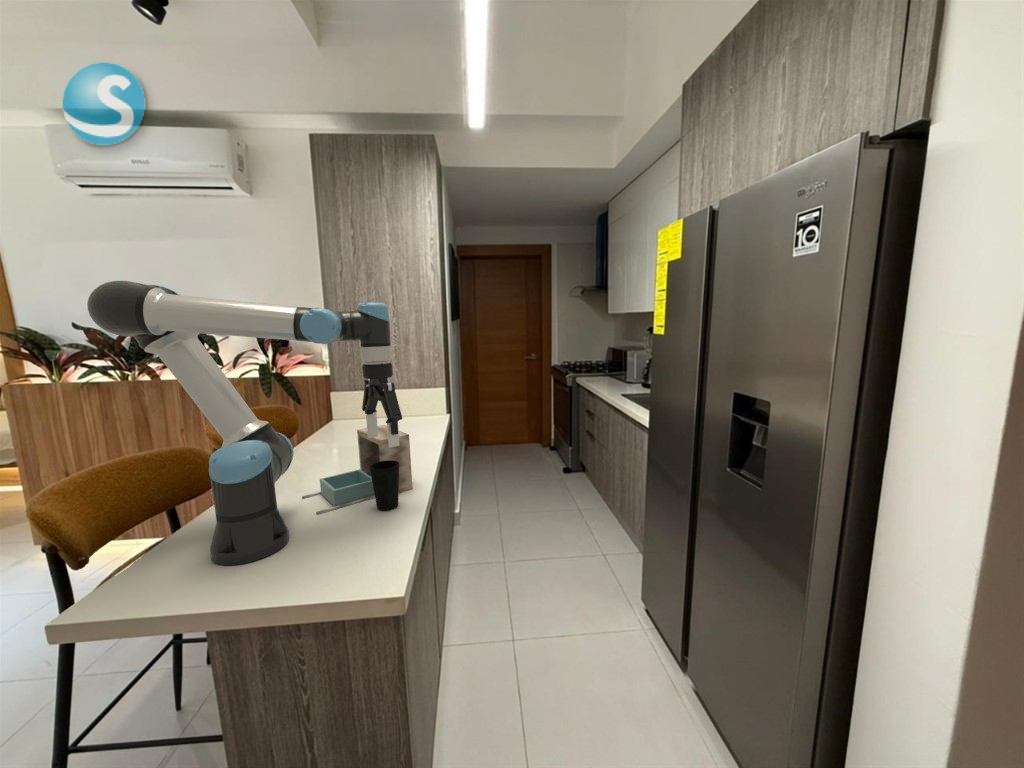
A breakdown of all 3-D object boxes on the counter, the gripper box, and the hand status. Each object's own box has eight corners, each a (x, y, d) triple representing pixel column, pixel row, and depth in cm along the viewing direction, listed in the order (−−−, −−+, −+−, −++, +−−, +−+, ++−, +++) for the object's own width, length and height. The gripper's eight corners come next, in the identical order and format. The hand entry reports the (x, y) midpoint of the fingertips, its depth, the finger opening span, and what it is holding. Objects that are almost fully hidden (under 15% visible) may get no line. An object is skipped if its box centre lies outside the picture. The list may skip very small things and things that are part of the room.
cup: (393, 513, 110) (390, 470, 109) (367, 512, 112) (364, 468, 110) (406, 501, 118) (404, 460, 116) (382, 500, 119) (378, 459, 118)
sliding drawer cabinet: (318, 516, 110) (312, 454, 108) (300, 496, 124) (295, 440, 121) (412, 488, 127) (409, 434, 125) (387, 474, 141) (384, 424, 138)
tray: (335, 507, 115) (333, 491, 114) (321, 494, 125) (319, 478, 124) (377, 495, 123) (376, 479, 122) (361, 483, 132) (359, 469, 132)
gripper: (412, 363, 102) (417, 447, 105) (372, 359, 121) (377, 431, 124) (383, 366, 98) (389, 454, 100) (346, 361, 116) (352, 435, 119)
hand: (383, 441), depth 112 cm, fingers open, 13 cm apart
